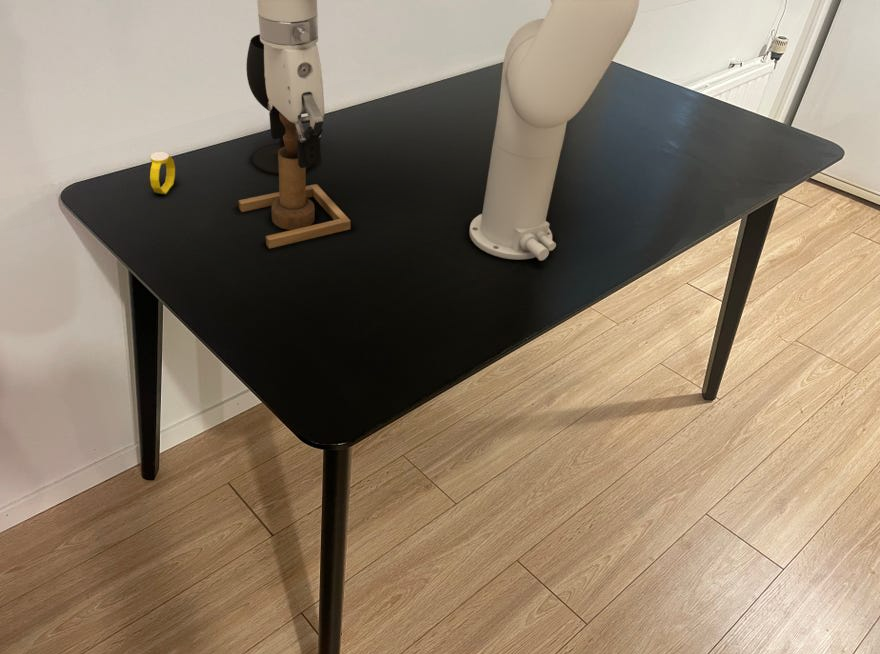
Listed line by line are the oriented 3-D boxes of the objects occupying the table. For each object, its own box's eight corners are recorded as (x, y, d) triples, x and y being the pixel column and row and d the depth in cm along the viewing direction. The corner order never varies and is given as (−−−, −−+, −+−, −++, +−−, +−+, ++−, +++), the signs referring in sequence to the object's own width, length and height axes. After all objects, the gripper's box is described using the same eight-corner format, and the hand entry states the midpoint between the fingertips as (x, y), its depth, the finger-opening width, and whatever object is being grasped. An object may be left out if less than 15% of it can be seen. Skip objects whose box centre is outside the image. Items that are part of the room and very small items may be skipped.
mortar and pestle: (307, 233, 116) (305, 119, 104) (265, 226, 117) (259, 112, 105) (319, 211, 121) (319, 100, 109) (280, 205, 122) (275, 93, 110)
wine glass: (288, 141, 138) (284, 25, 125) (326, 163, 133) (326, 44, 120) (240, 157, 133) (230, 38, 119) (277, 181, 127) (272, 59, 114)
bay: (350, 229, 118) (350, 220, 117) (269, 249, 113) (268, 240, 112) (316, 192, 126) (316, 183, 125) (238, 208, 120) (238, 200, 119)
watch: (165, 179, 125) (159, 145, 122) (181, 182, 125) (176, 148, 121) (148, 197, 121) (142, 162, 117) (165, 200, 121) (160, 165, 117)
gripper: (344, 46, 96) (345, 171, 107) (288, 4, 107) (295, 122, 119) (288, 54, 93) (295, 183, 105) (237, 11, 104) (248, 131, 116)
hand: (295, 150), depth 112 cm, fingers open, 9 cm apart
